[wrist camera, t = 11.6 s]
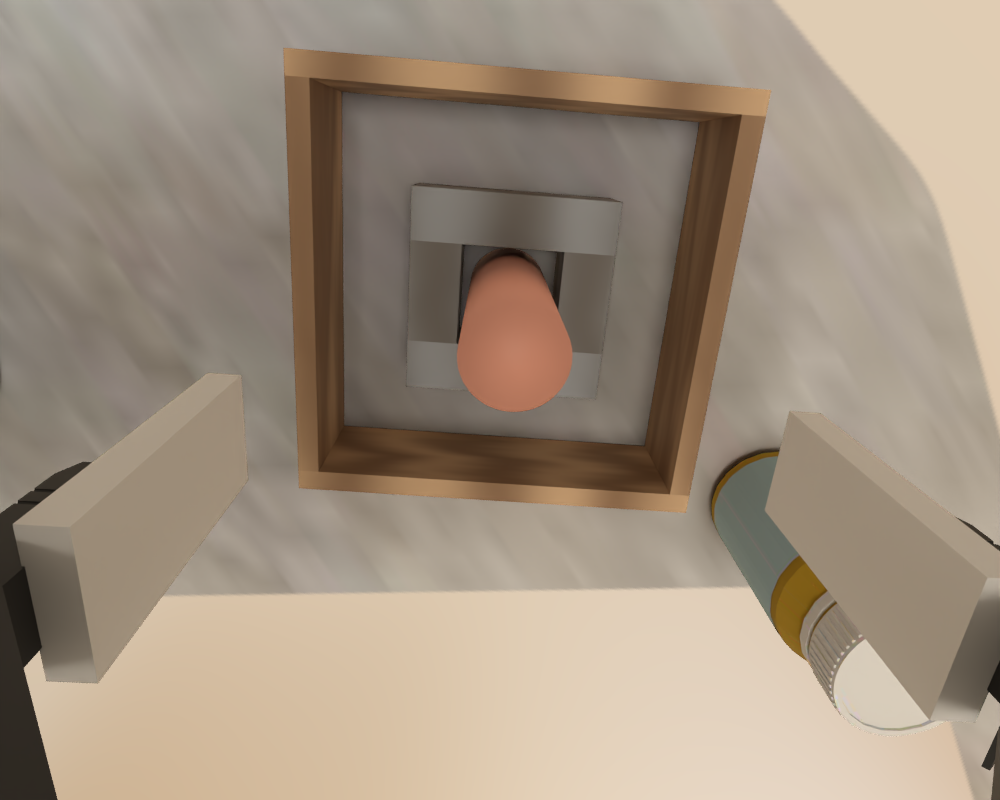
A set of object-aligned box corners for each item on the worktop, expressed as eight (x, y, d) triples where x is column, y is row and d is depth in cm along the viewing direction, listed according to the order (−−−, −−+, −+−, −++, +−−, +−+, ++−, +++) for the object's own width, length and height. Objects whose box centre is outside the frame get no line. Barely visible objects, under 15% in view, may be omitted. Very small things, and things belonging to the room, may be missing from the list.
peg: (468, 318, 36) (453, 407, 23) (473, 244, 35) (460, 296, 22) (539, 323, 36) (565, 415, 23) (547, 250, 35) (579, 305, 22)
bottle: (728, 437, 39) (861, 596, 25) (838, 458, 39) (1029, 624, 25) (693, 536, 41) (796, 731, 27) (797, 554, 42) (951, 755, 28)
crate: (327, 440, 39) (299, 488, 33) (321, 67, 32) (283, 47, 26) (658, 462, 39) (685, 512, 34) (723, 102, 32) (770, 90, 27)
